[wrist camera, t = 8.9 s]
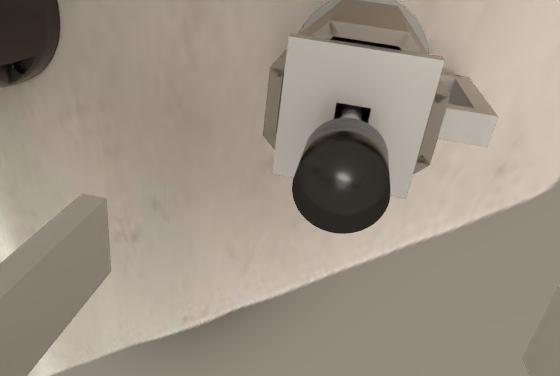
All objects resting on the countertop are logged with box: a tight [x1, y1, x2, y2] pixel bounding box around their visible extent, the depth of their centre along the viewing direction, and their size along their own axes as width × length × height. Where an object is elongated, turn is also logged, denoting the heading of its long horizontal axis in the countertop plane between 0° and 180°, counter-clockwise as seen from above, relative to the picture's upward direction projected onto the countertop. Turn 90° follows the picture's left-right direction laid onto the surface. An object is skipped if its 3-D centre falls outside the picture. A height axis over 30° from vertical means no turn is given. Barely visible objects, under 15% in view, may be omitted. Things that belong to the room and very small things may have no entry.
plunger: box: [292, 36, 401, 233], centre depth 28 cm, size 8×8×20 cm
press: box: [263, 0, 498, 199], centre depth 34 cm, size 14×12×16 cm
